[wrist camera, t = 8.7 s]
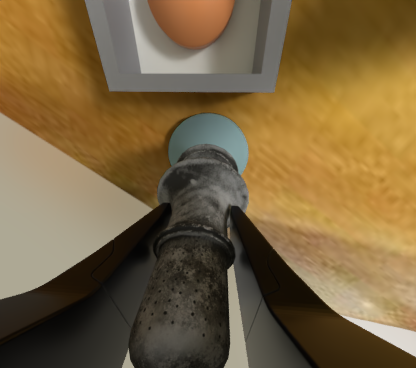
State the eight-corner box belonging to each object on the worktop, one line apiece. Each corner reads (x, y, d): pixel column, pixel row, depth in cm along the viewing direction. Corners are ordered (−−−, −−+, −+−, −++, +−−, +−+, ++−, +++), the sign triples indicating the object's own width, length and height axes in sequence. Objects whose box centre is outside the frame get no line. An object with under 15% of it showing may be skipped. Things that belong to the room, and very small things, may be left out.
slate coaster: (252, 113, 15) (254, 114, 14) (242, 188, 19) (243, 191, 19) (165, 112, 15) (162, 113, 15) (174, 185, 20) (172, 188, 19)
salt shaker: (228, 209, 15) (246, 471, 5) (167, 193, 15) (40, 446, 4) (254, 152, 12) (453, 534, 2) (177, 129, 11) (-169, 475, 1)
